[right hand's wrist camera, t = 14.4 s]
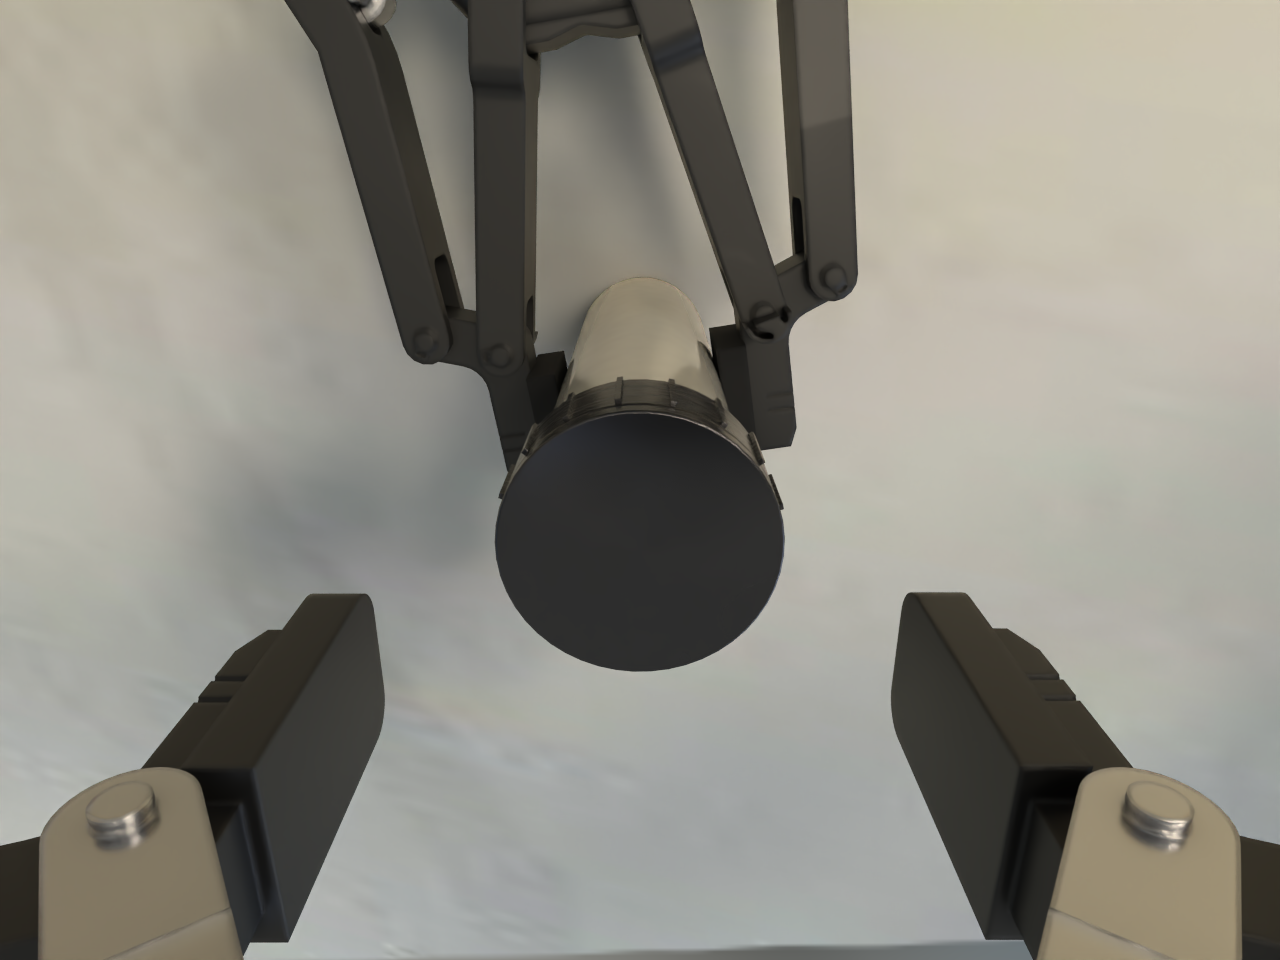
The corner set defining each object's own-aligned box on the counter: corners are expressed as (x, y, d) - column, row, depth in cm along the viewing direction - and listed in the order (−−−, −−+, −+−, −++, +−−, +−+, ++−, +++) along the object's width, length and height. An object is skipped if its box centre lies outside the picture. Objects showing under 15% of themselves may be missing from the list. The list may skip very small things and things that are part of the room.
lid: (676, 318, 15) (681, 344, 13) (822, 533, 16) (844, 583, 14) (454, 470, 16) (429, 514, 14) (610, 659, 17) (606, 720, 16)
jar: (658, 251, 28) (672, 372, 14) (726, 353, 30) (807, 566, 15) (557, 323, 29) (467, 510, 14) (627, 419, 31) (611, 681, 16)
